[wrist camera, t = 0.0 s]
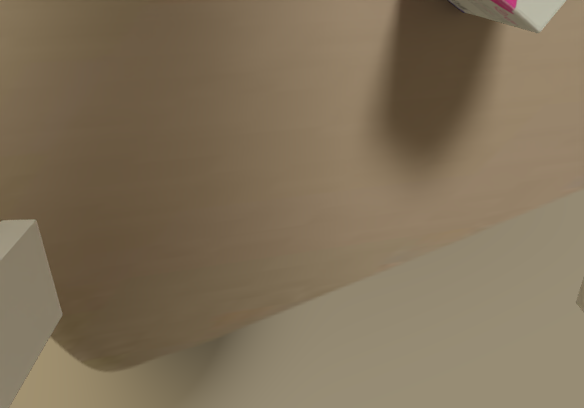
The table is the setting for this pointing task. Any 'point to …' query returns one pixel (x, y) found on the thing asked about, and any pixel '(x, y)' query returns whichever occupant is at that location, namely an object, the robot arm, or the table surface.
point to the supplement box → (513, 11)
